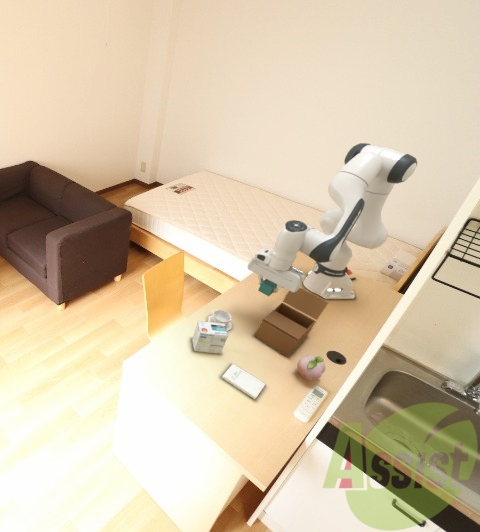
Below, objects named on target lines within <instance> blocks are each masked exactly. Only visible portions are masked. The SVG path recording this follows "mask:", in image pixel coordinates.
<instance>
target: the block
mask: <svg viewBox="0 0 480 532" xmlns="http://www.w3.org/2000/svg"><path fill="white" fill-rule="evenodd" d="M263 280H264V281H263V282H262V283H261V285H260V286H259V287H258V289H257V291H258V292H259V293H262V294H263V295H265V296H266V297H270V296H271V295H272V294H275V293H274V292H272V291H273V289H274V288H275V287H277V288H278V285H277V284H275V283H273V282H271V281H270V280H268V279H266V278H264V279H263Z"/></svg>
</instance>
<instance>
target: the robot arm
mask: <svg viewBox="0 0 480 532" xmlns="http://www.w3.org/2000/svg"><path fill="white" fill-rule="evenodd" d="M417 166H418V160H417V158H416V157H415V156H413V155H411V154H409V153H404V152H401V151H399V150H396V149H394V148H390V147H384V146H379V145H375V144H374V145H373V144H371V143H367V142H362V143H357V144H356V145H353V146H352V147H351V148H350V149H349V151H348V152H347V153H346V155H345V158H344V165H343V166H342V167H341V168H340V170H338V172H337V173H336V174H335V175H334V177H333V178H332V179H331V180H330V182H329V183H328V189H327V190H328V191H327V192H328V194H329V197H330V198H331V200H332V201H333V202H334V204H336V206H337V207H339V208H340V209H336V208H331V209H327V210H326V211H325V212H324V213H323V214H322V215H321V217H320V219H319V226H320V228H321V230H322V231H320V230H318V229H316V228H315V227H313V226H310V225H309V224H307V223H305V222H303V221H300V220H295V219H293V220H288V221H286V222H285V223H284V224H282V225H283V226H281V228H280V230H279V232H278V234H277V235H276V237H275V240H274V244H273V246H272V248H266V247H263V248H261V249H259V250H258V251H256V252H255V254H254V256H253V257H252V258H251V259H250V260H249V262H248V264H247V269H248V270H249V271H250V272H253V273H254V274H256V275H257V277H258V285H261V283H262V282H263V281H264V280H265V279H268V280H270V281H271V282H273V283H275V284H277V287H275V288H274V289H273V291H272V292H274V293H273V294H277V293H278V292H279V291H280V290H281V289H285V290H287V291H288V292H289V291H291V292H293V293H294V292H297V291H298V290H299V289H300V288H302V287H301V286H302V284H303V286H304V287H305V288H306V289H307V290H309V292H312V293H314V294H316V295H318V296H320V298H322V299H324V300H354V299H355V297H356V293H355V291H354V290H353V289H354V283H353V281H354V280H356V279H357V277H352V278H350V276H351V275H352V274H353V271H351V269H349V268H348V264H349V263H350V261H351V259H352V257H353V250H352V248H351V247H350V246H349V245H348V243H347V242H349V243H350V244H353V245H356V246H358V247H362V248H364V249H369V250H374V249H378V248H380V247H381V246H383V245H384V244H385V243H386V241H387V239H388V230H387V228H386V227H385V225H384V223H383V221H382V210H383V207H384V205H385V203H386V201H387V199H388V197H389V195H390V194H391V192H392V191H393V188H394V186H395V184H401V183H404V182H406V181H407V180H408V179H409V178H410V177H412V176H413V174H415V171H416V169H417ZM298 252H299V253H302V254H304V255H306V256H307V257H309V258H310V259H312V260H313V261H314V265H313V267H312V269H311V270H310V271H309V272H308V274H306V273H304V271H303V270H302V269H298V268H297V267H295V266H293V265H294V262H295V261H296V258H297V254H298Z"/></svg>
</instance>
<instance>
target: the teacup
mask: <svg viewBox="0 0 480 532" xmlns="http://www.w3.org/2000/svg"><path fill="white" fill-rule="evenodd" d="M231 321H232V314H230V312H229V311H227V310H224V309H216V310H214V311H213V313H212V314H211V315H209V316H208V318H207V322H212V323H225V327H226V330H227V332H228V331H230V330H231V329H232V328H233V323H232V322H231Z"/></svg>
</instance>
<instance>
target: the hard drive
mask: <svg viewBox="0 0 480 532" xmlns="http://www.w3.org/2000/svg"><path fill="white" fill-rule="evenodd" d="M221 379H223V380H224V381H226V382H228V383H229V384H231V385H232V386H234V387H235V388H236V389H238V390H239V391H241V392H242V393H244V394H245V395H247V396H249V397H250V398H251V399H253V400H256V399H257V398H258V397H259V395H260V393H261V392H262V391H263V389H264V388H265V386H266V383H265V382H263V381H261V380H260V379H258V378H257V377H255V376H254V375H252V374H251V373H249V372H247V371H246V370H244V369H242V368H241V367H239V366H238V365H236V364H234V363H232V364H231V365H230V366H229V368H228V369H227V370H226V371H225V372H224V373H223V374H222V377H221Z"/></svg>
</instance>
